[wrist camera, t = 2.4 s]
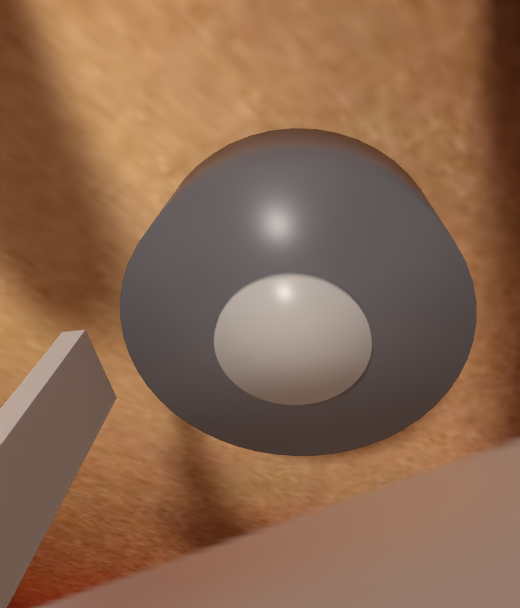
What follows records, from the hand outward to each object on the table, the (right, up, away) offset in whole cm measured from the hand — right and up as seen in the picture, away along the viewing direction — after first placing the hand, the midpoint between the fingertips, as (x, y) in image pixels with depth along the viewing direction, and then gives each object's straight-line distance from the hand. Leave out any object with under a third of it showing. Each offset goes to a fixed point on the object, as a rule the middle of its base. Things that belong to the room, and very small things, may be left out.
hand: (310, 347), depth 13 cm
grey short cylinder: (0, +2, +4) cm, 4 cm away
